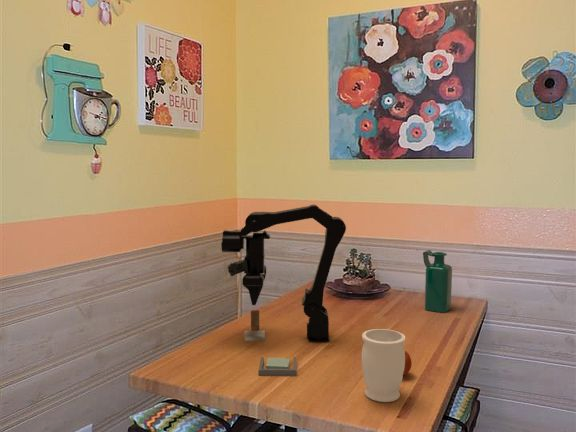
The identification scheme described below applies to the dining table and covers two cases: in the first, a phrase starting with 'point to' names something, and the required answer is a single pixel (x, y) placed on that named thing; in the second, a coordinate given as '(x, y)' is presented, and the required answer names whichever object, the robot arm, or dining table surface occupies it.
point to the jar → (383, 363)
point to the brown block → (255, 329)
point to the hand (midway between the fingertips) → (255, 301)
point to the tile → (278, 363)
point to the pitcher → (437, 283)
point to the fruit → (407, 363)
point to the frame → (277, 370)
